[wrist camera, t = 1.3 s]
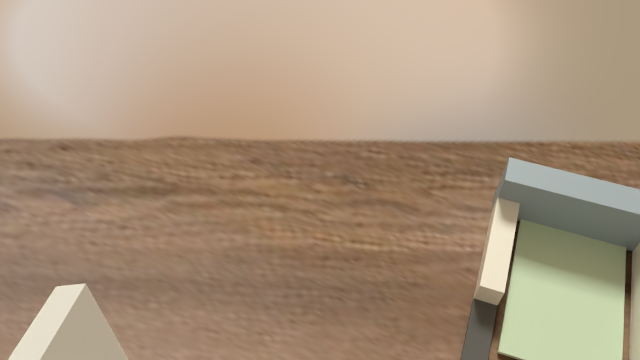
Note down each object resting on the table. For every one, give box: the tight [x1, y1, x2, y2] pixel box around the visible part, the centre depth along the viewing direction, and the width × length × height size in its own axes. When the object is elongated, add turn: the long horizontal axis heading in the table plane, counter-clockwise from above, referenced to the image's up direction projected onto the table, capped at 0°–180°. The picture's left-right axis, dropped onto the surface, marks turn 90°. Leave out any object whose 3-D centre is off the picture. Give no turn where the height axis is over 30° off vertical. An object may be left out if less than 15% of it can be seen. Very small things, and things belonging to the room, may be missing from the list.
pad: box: [497, 219, 626, 360], centre depth 37 cm, size 7×10×1 cm
